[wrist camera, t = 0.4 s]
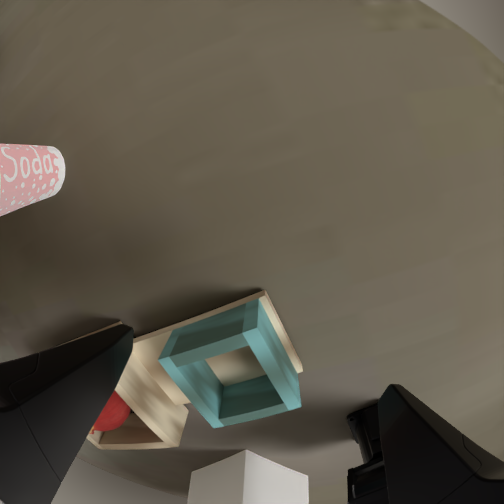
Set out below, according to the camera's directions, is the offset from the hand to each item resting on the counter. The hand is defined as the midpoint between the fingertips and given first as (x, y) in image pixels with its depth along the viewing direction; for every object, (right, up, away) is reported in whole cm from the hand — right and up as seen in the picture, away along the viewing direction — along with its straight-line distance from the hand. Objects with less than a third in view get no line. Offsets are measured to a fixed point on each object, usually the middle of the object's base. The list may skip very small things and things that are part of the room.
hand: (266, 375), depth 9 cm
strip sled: (-9, -7, +16) cm, 20 cm away
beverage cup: (-18, +11, +11) cm, 24 cm away
